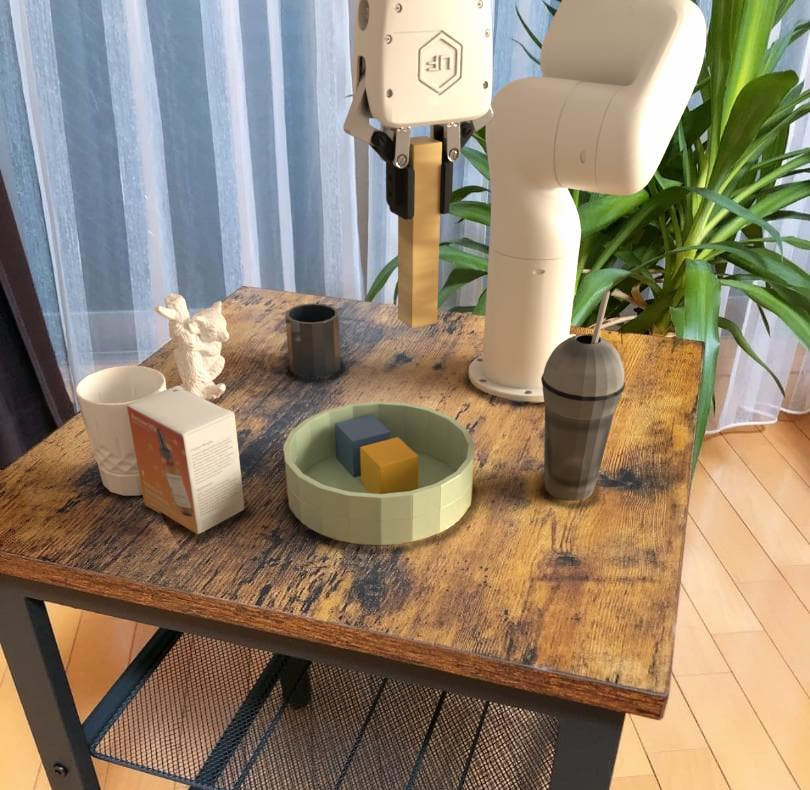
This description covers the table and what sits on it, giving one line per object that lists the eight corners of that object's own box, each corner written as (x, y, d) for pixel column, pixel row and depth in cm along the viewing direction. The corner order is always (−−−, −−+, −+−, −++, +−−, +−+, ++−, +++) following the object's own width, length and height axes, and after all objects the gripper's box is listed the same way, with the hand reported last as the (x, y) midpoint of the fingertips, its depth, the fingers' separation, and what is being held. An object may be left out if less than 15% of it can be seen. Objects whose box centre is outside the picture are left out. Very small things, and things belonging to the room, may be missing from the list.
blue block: (372, 449, 92) (371, 413, 89) (390, 467, 89) (390, 431, 86) (336, 458, 90) (334, 423, 88) (353, 477, 87) (352, 441, 85)
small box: (144, 506, 84) (123, 404, 78) (192, 482, 88) (177, 382, 81) (198, 540, 80) (181, 435, 74) (247, 513, 83) (235, 410, 77)
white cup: (160, 504, 84) (142, 408, 79) (81, 495, 86) (58, 399, 80) (193, 461, 91) (178, 369, 85) (119, 453, 92) (100, 362, 86)
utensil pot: (327, 355, 111) (324, 299, 107) (349, 374, 107) (347, 317, 103) (281, 365, 109) (277, 309, 105) (302, 385, 105) (298, 327, 100)
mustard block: (397, 472, 88) (397, 436, 86) (418, 492, 85) (418, 455, 83) (360, 483, 86) (359, 446, 84) (380, 503, 84) (379, 466, 81)
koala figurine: (185, 418, 98) (169, 311, 91) (152, 397, 102) (134, 293, 95) (250, 393, 103) (239, 290, 96) (216, 374, 107) (203, 274, 100)
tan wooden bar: (423, 313, 82) (426, 135, 73) (437, 323, 80) (442, 141, 72) (397, 318, 81) (397, 138, 72) (411, 328, 79) (413, 145, 71)
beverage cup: (562, 464, 90) (586, 265, 79) (623, 493, 86) (658, 287, 75) (514, 491, 86) (532, 286, 75) (575, 523, 82) (604, 310, 70)
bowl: (414, 435, 95) (415, 387, 92) (507, 516, 83) (511, 464, 80) (260, 476, 88) (255, 426, 85) (336, 572, 76) (333, 517, 73)
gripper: (341, -48, 59) (349, 239, 69) (547, -52, 65) (526, 211, 76) (296, -54, 64) (310, 213, 75) (490, -57, 70) (478, 190, 81)
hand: (419, 210), depth 75 cm, fingers closed on tan wooden bar, 2 cm apart
